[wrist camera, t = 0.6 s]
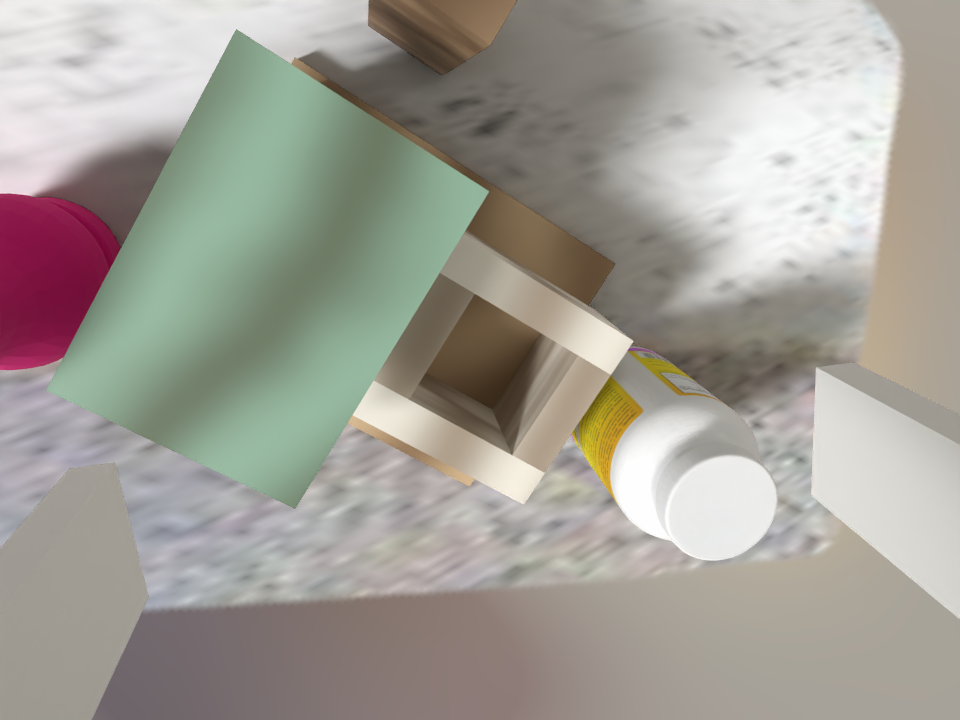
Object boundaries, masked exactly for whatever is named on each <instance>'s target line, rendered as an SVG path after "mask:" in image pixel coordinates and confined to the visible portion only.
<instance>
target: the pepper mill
mask: <svg viewBox="0 0 960 720" xmlns="http://www.w3.org/2000/svg"><path fill="white" fill-rule="evenodd" d="M120 249H121V248H120V246H119V244H118V242H117V240H116V238H115V236H114V235H113V233H112V232H111V230H110V229H109V228H108V227H107V225H106V224H105V223H104V222H103V221H102V220H101V219H100V218H98V217H97V216H96V215H95V214H93V213H92V212H90V211H89V210H87V209H86V208H84V207H82V206H79V205H77V204H75V203H73V202H69V201H66V200H63V199H59V198H51V197H40V198H35V197H31V196H27V195H18V194H0V370H18V369H28V368H34V367H39V366H44V365H47V364H49V363H52V362H54V361H57V360H59V359H61V358H63V357H64V356H65V354H66V352H67V350H68V348H69V346H70V344H71V342H72V340H73V339H74V337H75V335H76V333H77V331H78V329H79V327H80V325H81V323H82V321H83V320H84V318H85V316H86V314H87V312H88V310H89V308H90V306H91V304H92V302H93V300H94V299H95V297H96V295H97V293H98V291H99V289H100V287H101V285H102V283H103V281H104V280H105V278H106V276H107V274H108V272H109V270H110V268H111V266H112V264H113V262H114V261H115V259H116V257H117V255H118V253H119V251H120Z"/></svg>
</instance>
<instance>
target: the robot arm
mask: <svg viewBox="0 0 960 720" xmlns="http://www.w3.org/2000/svg"><path fill="white" fill-rule="evenodd" d="M811 496H813V497H814V498H815V499H816V500H817V501H819V502H820V503H821V504H822V505H823V506H825V507H826V508H827V509H828V510H829V511H831V512H832V513H833V514H834V515H835V516H837V517H838V518H839V519H840V520H841V521H843V522H844V523H845V524H846V525H847V526H849V527H850V528H851V529H852V530H853V531H855V532H856V533H857V534H858V535H859V536H861V537H862V538H863V539H864V540H865V541H867V542H868V543H869V544H870V545H872V546H873V547H874V548H875V549H876V550H878V551H879V552H880V553H881V554H882V555H884V556H885V557H886V558H887V559H888V560H890V561H891V562H892V563H893V564H894V565H895V566H897V567H898V568H899V569H900V570H901V571H903V572H904V573H905V574H906V575H907V576H909V577H910V578H911V579H912V580H913V581H915V582H916V583H917V584H918V585H919V586H921V587H922V588H923V589H924V590H925V591H927V592H928V593H929V594H930V595H931V596H933V597H934V598H935V599H936V600H937V601H939V602H940V603H941V604H942V605H943V606H945V607H946V608H947V609H948V610H949V611H951V612H952V613H953V614H954V615H955V616H957V617H958V618H959V619H960V414H958V413H956V412H954V411H952V410H950V409H948V408H946V407H944V406H942V405H940V404H938V403H936V402H934V401H932V400H930V399H927V398H926V397H923V396H921V395H919V394H917V393H915V392H913V391H911V390H909V389H907V388H905V387H903V386H901V385H899V384H897V383H895V382H893V381H891V380H889V379H887V378H884V377H882V376H880V375H878V374H876V373H874V372H872V371H870V370H868V369H866V368H864V367H862V366H860V365H858V364H856V363H854V362H851V363H844V364H837V365H829V366H822V367H816V384H815V411H814V437H813V464H812V491H811ZM148 597H149V596H148V592H147V588H146V584H145V580H144V576H143V572H142V568H141V564H140V560H139V556H138V552H137V548H136V544H135V540H134V536H133V532H132V528H131V524H130V520H129V516H128V512H127V508H126V504H125V500H124V496H123V492H122V488H121V484H120V480H119V477H118V473H117V469H116V465H115V462H114V463H106V464H99V465H91V466H84V467H77V468H70V469H69V470H68V471H67V472H66V473H65V475H64V476H63V477H62V478H61V479H60V480H59V481H58V483H57V484H56V485H55V486H54V487H53V488H52V489H51V491H50V492H49V493H48V494H47V495H46V496H45V497H44V499H43V500H42V501H41V502H40V503H39V504H38V506H37V507H36V508H35V509H34V510H33V511H32V512H31V514H30V515H29V516H28V517H27V518H26V519H25V520H24V522H23V523H22V524H21V525H20V526H19V527H18V528H17V530H16V531H15V532H14V533H13V534H12V535H11V537H10V538H9V539H8V540H7V541H6V542H5V543H4V545H3V546H2V547H1V548H0V720H92V718H93V715H94V713H95V711H96V709H97V707H98V705H99V702H100V700H101V698H102V696H103V694H104V692H105V690H106V688H107V685H108V683H109V681H110V679H111V677H112V675H113V672H114V670H115V668H116V666H117V664H118V662H119V659H120V657H121V655H122V653H123V651H124V649H125V647H126V645H127V642H128V640H129V638H130V636H131V634H132V632H133V630H134V627H135V625H136V623H137V621H138V619H139V617H140V615H141V612H142V610H143V608H144V606H145V604H146V602H147V600H148Z"/></svg>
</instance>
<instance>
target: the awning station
mask: <svg viewBox="0 0 960 720" xmlns="http://www.w3.org/2000/svg"><path fill="white" fill-rule="evenodd" d="M614 265H615V263H613V262H612V261H610V260H608V259H607V258H605V257H604V256H602V255H601V254H599V253H598V252H596V251H595V250H593V249H591V248H590V247H588V246H587V245H585V244H584V243H582V242H581V241H579V240H577V239H576V238H574V237H573V236H571V235H570V234H568V233H567V232H565V231H564V230H562V229H560V228H559V227H557V226H556V225H554V224H553V223H551V222H550V221H548V220H546V219H545V218H543V217H542V216H540V215H539V214H537V213H536V212H534V211H532V210H531V209H529V208H528V207H526V206H525V205H523V204H522V203H520V202H519V201H517V200H515V199H514V198H512V197H511V196H509V195H508V194H506V193H505V192H503V191H501V190H500V189H498V188H497V187H495V186H494V185H492V184H491V183H489V182H488V181H486V180H484V179H483V178H481V177H480V176H478V175H477V174H475V173H474V172H472V171H470V170H469V169H467V168H466V167H464V166H463V165H461V164H460V163H458V162H457V161H455V160H453V159H452V158H450V157H449V156H447V155H446V154H444V153H443V152H441V151H439V150H438V149H436V148H435V147H433V146H432V145H430V144H429V143H427V142H425V141H424V140H422V139H421V138H419V137H418V136H416V135H415V134H413V133H412V132H410V131H408V130H407V129H405V128H404V127H402V126H401V125H399V124H398V123H396V122H394V121H393V120H391V119H390V118H388V117H387V116H385V115H384V114H382V113H381V112H379V111H377V110H376V109H374V108H373V107H371V106H370V105H368V104H367V103H365V102H363V101H362V100H360V99H359V98H357V97H356V96H354V95H353V94H351V93H349V92H348V91H346V90H345V89H343V88H342V87H340V86H339V85H337V84H336V83H334V82H332V81H331V80H329V79H328V78H326V77H325V76H323V75H322V74H320V73H318V72H317V71H315V70H314V69H312V68H311V67H309V66H308V65H306V64H305V63H303V62H301V61H300V60H298V59H297V58H294V60H293V62H292V64H290V63H288V62H287V61H285V60H284V59H282V58H280V57H279V56H277V55H276V54H274V53H273V52H271V51H270V50H268V49H266V48H265V47H263V46H262V45H260V44H259V43H257V42H255V41H254V40H252V39H251V38H249V37H248V36H246V35H245V34H243V33H241V32H240V31H238V30H237V29H236V31H235V33H234V34H233V36H232V38H231V40H230V42H229V44H228V46H227V48H226V50H225V52H224V53H223V55H222V57H221V59H220V61H219V63H218V65H217V67H216V69H215V71H214V72H213V74H212V76H211V78H210V80H209V82H208V84H207V86H206V88H205V90H204V91H203V93H202V95H201V97H200V99H199V101H198V103H197V105H196V107H195V109H194V110H193V112H192V114H191V116H190V118H189V120H188V122H187V124H186V126H185V128H184V129H183V131H182V133H181V135H180V137H179V139H178V141H177V143H176V145H175V147H174V148H173V150H172V152H171V154H170V156H169V158H168V160H167V162H166V164H165V166H164V167H163V169H162V171H161V173H160V175H159V177H158V179H157V181H156V183H155V185H154V186H153V188H152V190H151V192H150V194H149V196H148V198H147V200H146V202H145V204H144V205H143V207H142V209H141V211H140V213H139V215H138V217H137V219H136V221H135V223H134V224H133V226H132V228H131V230H130V232H129V234H128V236H127V238H126V240H125V242H124V243H123V245H122V247H121V249H120V251H119V253H118V255H117V257H116V259H115V261H114V262H113V264H112V266H111V268H110V270H109V272H108V274H107V276H106V278H105V280H104V281H103V283H102V285H101V287H100V289H99V291H98V293H97V295H96V297H95V299H94V300H93V302H92V304H91V306H90V308H89V310H88V312H87V314H86V316H85V318H84V320H83V321H82V323H81V325H80V327H79V329H78V331H77V333H76V335H75V337H74V339H73V340H72V342H71V344H70V346H69V348H68V350H67V352H66V354H65V356H64V358H63V359H62V361H61V363H60V365H59V367H58V369H57V371H56V373H55V375H54V377H53V378H52V380H51V382H50V384H49V386H48V388H47V390H46V391H49V392H51V393H53V394H55V395H57V396H59V397H61V398H63V399H65V400H67V401H70V402H72V403H74V404H76V405H78V406H80V407H82V408H84V409H86V410H89V411H91V412H93V413H95V414H97V415H99V416H101V417H103V418H105V419H107V420H110V421H112V422H114V423H116V424H118V425H120V426H122V427H124V428H126V429H128V430H131V431H133V432H135V433H137V434H139V435H141V436H143V437H145V438H147V439H149V440H152V441H154V442H156V443H158V444H160V445H162V446H164V447H166V448H168V449H171V450H173V451H175V452H177V453H179V454H181V455H183V456H185V457H187V458H189V459H192V460H194V461H196V462H198V463H200V464H202V465H204V466H206V467H208V468H210V469H213V470H215V471H217V472H219V473H221V474H223V475H225V476H227V477H229V478H231V479H234V480H236V481H238V482H240V483H242V484H244V485H246V486H248V487H250V488H253V489H255V490H257V491H259V492H261V493H263V494H265V495H267V496H269V497H271V498H274V499H276V500H278V501H280V502H282V503H284V504H286V505H288V506H290V507H292V508H296V507H297V505H298V503H299V502H300V500H301V499H302V497H303V495H304V494H305V492H306V490H307V489H308V487H309V485H310V484H311V482H312V481H313V479H314V477H315V476H316V474H317V472H318V471H319V469H320V467H321V466H322V464H323V463H324V461H325V459H326V458H327V456H328V454H329V453H330V451H331V449H332V448H333V446H334V445H335V443H336V441H337V440H338V438H339V436H340V435H341V433H342V431H343V430H344V428H345V427H346V425H347V423H348V424H350V425H352V426H354V427H356V428H358V429H360V430H361V431H363V432H365V433H367V434H369V435H371V436H373V437H375V438H377V439H379V440H381V441H383V442H385V443H387V444H388V445H390V446H392V447H394V448H396V449H398V450H400V451H402V452H404V453H406V454H408V455H410V456H412V457H414V458H416V459H417V460H419V461H421V462H423V463H425V464H427V465H429V466H431V467H433V468H435V469H437V470H439V471H441V472H443V473H444V474H446V475H448V476H450V477H452V478H454V479H456V480H458V481H460V482H462V483H464V484H466V485H468V486H470V485H471V483H472V482H473V480H474V479H476V480H478V481H479V482H481V483H483V484H485V485H487V486H489V487H491V488H493V489H495V490H497V491H499V492H501V493H502V494H504V495H506V496H508V497H510V498H512V499H514V500H516V501H518V502H520V503H522V504H524V503H525V502H526V500H527V499H528V497H529V496H530V494H531V493H532V491H533V490H534V488H535V487H536V485H537V484H538V483H539V481H540V480H541V478H542V477H543V475H544V474H545V472H546V471H547V469H548V468H549V466H550V465H551V463H552V462H553V460H554V459H555V457H556V456H557V454H558V453H559V451H560V450H561V448H562V447H563V445H564V444H565V442H566V441H567V439H568V438H569V436H570V435H571V434H572V432H573V431H574V429H575V428H576V426H577V425H578V423H579V422H580V420H581V419H582V417H583V416H584V414H585V413H586V411H587V410H588V408H589V407H590V405H591V404H592V402H593V401H594V399H595V398H596V396H597V395H598V393H599V392H600V390H601V389H602V388H603V386H604V385H605V383H606V382H607V380H608V379H609V377H610V376H611V374H612V373H613V371H614V370H615V368H616V367H617V365H618V364H619V362H620V361H621V359H622V358H623V356H624V355H625V353H626V352H627V350H628V349H629V347H630V346H631V344H632V343H633V340H632V339H631V338H629V337H628V336H627V335H626V334H624V333H623V332H622V331H621V330H619V329H618V328H617V327H616V326H614V325H613V324H612V323H611V322H610V321H608V320H607V319H606V318H605V317H603V316H602V315H601V314H600V313H598V312H597V311H596V310H594V309H593V308H591V307H589V306H588V305H589V303H590V302H591V300H592V299H593V297H594V296H595V294H596V293H597V291H598V290H599V288H600V287H601V285H602V284H603V282H604V281H605V279H606V278H607V276H608V274H609V273H610V271H611V270H612V268H613V267H614Z"/></svg>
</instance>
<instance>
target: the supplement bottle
mask: <svg viewBox="0 0 960 720" xmlns="http://www.w3.org/2000/svg"><path fill="white" fill-rule="evenodd" d="M571 436H572V438H573V440H574V441H575V443H576V444H577V446H578V447H579V449H580V450H581V452H582V453H583V455H584V456H585V458H586V459H587V460H588V462H589V463H590V465H591V466H592V468H593V469H594V471H595V472H596V474H597V475H598V476H599V478H600V479H601V481H602V482H603V484H604V485H605V487H606V488H607V490H608V491H609V492H610V494H611V495H612V497H613V498H614V500H615V501H616V503H617V504H618V505H619V507H620V508H621V510H622V511H623V512H624V514H625V515H626V516H627V517H628V519H629V520H630V521H631V522H632V523H634V524H635V525H636V526H637V527H639V528H640V529H641V530H643V531H645V532H646V533H648V534H651V535H653V536H656V537H658V538H661V539H666V540H672V541H673V542H674V543H675V544H676V545H677V546H678V547H679V548H680V549H681V550H682V551H683V552H685V553H686V554H688V555H690V556H692V557H695V558H698V559H702V560H723V559H727V558H731V557H734V556H737V555H739V554H741V553H743V552H745V551H747V550H748V549H749V548H751V547H752V546H753V545H755V544H756V543H757V542H758V541H759V540H760V539H761V538H762V537H763V536H764V534H765V533H766V532H767V530H768V529H769V527H770V525H771V523H772V521H773V519H774V516H775V513H776V509H777V489H776V485H775V482H774V480H773V478H772V476H771V474H770V473H769V471H768V470H767V469H766V468H765V467H764V466H763V465H762V464H761V463H760V453H759V448H758V444H757V441H756V438H755V436H754V434H753V432H752V430H751V429H750V427H749V426H748V424H747V423H746V422H745V421H744V419H743V418H742V417H741V416H740V415H738V414H737V413H736V412H735V411H734V410H732V409H731V408H730V407H729V406H727V405H726V404H725V403H723V402H722V401H721V400H719V399H718V398H717V397H715V396H714V395H712V394H711V393H710V392H709V391H707V390H706V389H705V388H703V387H702V386H701V385H700V384H698V383H697V382H696V381H694V380H693V379H692V378H691V377H689V376H688V375H686V374H685V373H684V372H682V371H681V370H680V369H679V368H677V367H676V366H675V365H673V364H672V363H671V362H669V361H668V360H667V359H665V358H664V357H662V356H661V355H659V354H657V353H656V352H653V351H651V350H649V349H646V348H642V347H637V346H630V347H629V349H628V350H627V352H626V353H625V355H624V356H623V358H622V359H621V361H620V362H619V364H618V365H617V367H616V368H615V370H614V371H613V373H612V374H611V376H610V377H609V379H608V380H607V382H606V383H605V385H604V386H603V388H602V389H601V390H600V392H599V393H598V395H597V396H596V398H595V399H594V401H593V402H592V404H591V405H590V407H589V408H588V410H587V411H586V413H585V414H584V416H583V417H582V419H581V420H580V422H579V423H578V425H577V426H576V428H575V429H574V431H573V432H572V434H571Z"/></svg>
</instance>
